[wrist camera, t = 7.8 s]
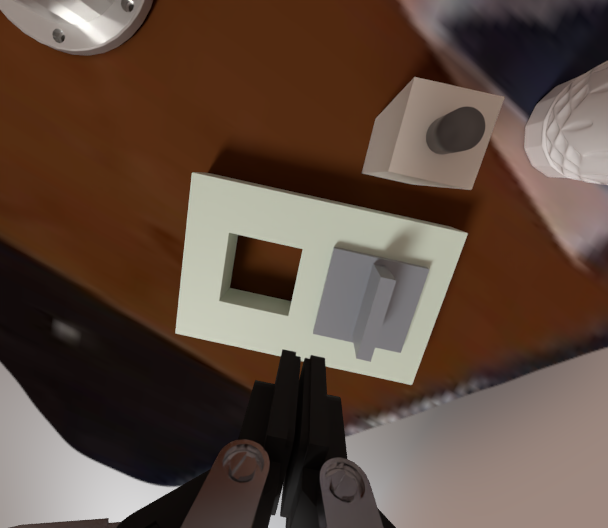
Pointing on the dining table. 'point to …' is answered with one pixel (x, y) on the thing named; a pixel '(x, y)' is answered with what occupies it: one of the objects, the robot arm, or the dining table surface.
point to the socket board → (301, 271)
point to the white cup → (572, 129)
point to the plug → (432, 135)
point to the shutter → (369, 301)
